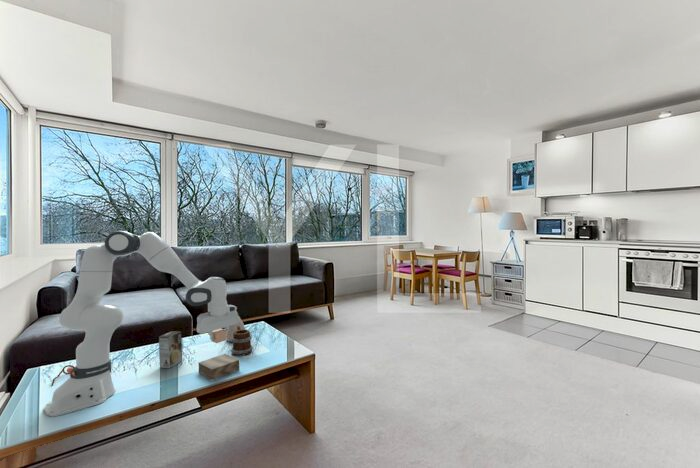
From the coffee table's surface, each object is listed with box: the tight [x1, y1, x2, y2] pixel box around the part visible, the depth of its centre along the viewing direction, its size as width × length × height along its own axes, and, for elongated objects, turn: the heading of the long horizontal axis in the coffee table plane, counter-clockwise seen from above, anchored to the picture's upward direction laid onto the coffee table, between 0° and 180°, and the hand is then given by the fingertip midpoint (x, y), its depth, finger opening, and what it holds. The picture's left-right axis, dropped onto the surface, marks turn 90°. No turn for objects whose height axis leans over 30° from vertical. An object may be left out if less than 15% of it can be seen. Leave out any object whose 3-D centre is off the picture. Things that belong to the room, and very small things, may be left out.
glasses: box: [50, 364, 75, 387], centre depth 155 cm, size 13×13×5 cm
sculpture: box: [226, 315, 246, 343], centre depth 205 cm, size 13×12×15 cm
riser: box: [198, 353, 240, 381], centre depth 159 cm, size 14×13×5 cm
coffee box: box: [158, 330, 183, 369], centre depth 168 cm, size 9×6×16 cm
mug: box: [230, 326, 254, 357], centre depth 184 cm, size 12×14×15 cm
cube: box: [210, 328, 227, 344], centre depth 159 cm, size 5×5×5 cm
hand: (218, 337), depth 159 cm, fingers closed on cube, 5 cm apart
